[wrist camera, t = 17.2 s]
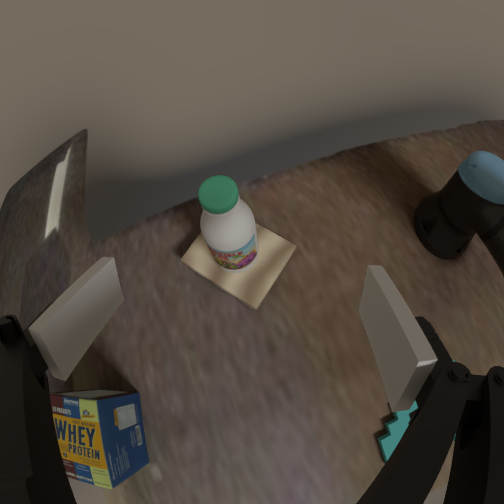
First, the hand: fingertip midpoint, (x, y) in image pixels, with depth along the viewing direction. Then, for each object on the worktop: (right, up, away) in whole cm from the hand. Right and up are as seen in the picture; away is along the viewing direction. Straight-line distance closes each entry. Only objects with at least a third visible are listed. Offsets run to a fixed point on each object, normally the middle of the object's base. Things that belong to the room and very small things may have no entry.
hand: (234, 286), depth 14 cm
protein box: (-24, -32, +30) cm, 50 cm away
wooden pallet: (-1, 0, +40) cm, 40 cm away
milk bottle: (-2, +1, +36) cm, 36 cm away
